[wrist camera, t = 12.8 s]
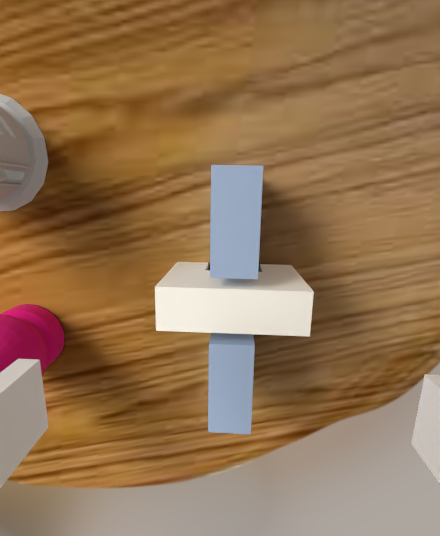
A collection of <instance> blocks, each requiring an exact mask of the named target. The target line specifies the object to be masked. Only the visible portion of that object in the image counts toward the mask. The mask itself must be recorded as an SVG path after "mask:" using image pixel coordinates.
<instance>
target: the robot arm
mask: <svg viewBox="0 0 440 536" xmlns="http://www.w3.org/2000/svg"><path fill="white" fill-rule="evenodd" d="M47 428H48V419H47V411H46V404H45V396H44V389H43V381H42V373H41V366H40V360H38V359H17V360H16V361H15V362H13V363H12V364H11V365H10V366H8V367H7V368H6V369H4V370H3V371H2V372H0V488H1V487H2V485H3V484H4V483H5V482H6V480H7V479H8V478H9V476H10V475H11V474H12V473H13V471H14V470H15V469H16V468H17V466H18V465H19V464H20V463H21V461H22V460H23V459H24V457H25V456H26V455H27V454H28V452H29V451H30V450H31V449H32V447H33V446H34V445H35V443H36V442H37V441H38V440H39V438H40V437H41V436H42V435H43V433H44V432H45V431H46V430H47ZM411 444H412V445H413V447H414V448H415V450H416V451H417V452H418V454H419V455H420V457H421V458H422V460H423V461H424V462H425V464H426V465H427V466H428V468H429V469H430V471H431V472H432V474H433V475H434V476H435V478H436V479H437V480H438V482H439V483H440V375H428V374H425V376H424V381H423V386H422V391H421V396H420V402H419V407H418V412H417V417H416V422H415V427H414V432H413V437H412V443H411Z"/></svg>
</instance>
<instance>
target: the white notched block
mask: <svg viewBox="0 0 440 536" xmlns="http://www.w3.org/2000/svg"><path fill="white" fill-rule="evenodd" d="M208 264H209V263H206V262H177V263H176V264H175V265H174V266H173V267H172V268H171V270H170V271H169V272H168V273H167V274H166V275H165V276H164V277H163V278H162V279H161V281H160V282H159V283H158V284H157V285H156V286H155V308H156V331H180V332H206V333H232V334H258V335H285V336H310V329H311V318H312V307H313V295H314V291H313V290H312V289H311V288H310V287H309V285H308V284H307V283H306V282H305V281H304V280H303V278H302V277H301V276H300V275H299V274H298V272H297V271H296V270H295V269H294V268H293V266H292V265H276V264H260V267H259V272H258V279H232V278H210V270H208Z"/></svg>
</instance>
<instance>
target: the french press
mask: <svg viewBox="0 0 440 536" xmlns="http://www.w3.org/2000/svg"><path fill="white" fill-rule="evenodd" d="M47 167H48V156H47V150H46V144H45V138H44V136H43V134H42V132H41V131H40V129H39V127H38V125H37V123H36V122H35V120H34V118H33V116H32V115H31V114H30V113H29V112H28V111H27V110H25V109H24V108H23V107H22V106H21V105H20V104H19V103H17V102H16V101H15V100H14V99H13V98H10V97H8V96H5V95H2V94H0V211H14V210H16V209H18V208H20V207H22V206H23V205H25V204H27V203H29V202H31V201H32V200H33V198H34V197H35V196H36V194H37V193H38V191H39V190H40V189H41V187H42V186H43V185H44V181H45V176H46V171H47Z"/></svg>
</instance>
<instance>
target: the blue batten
mask: <svg viewBox="0 0 440 536" xmlns="http://www.w3.org/2000/svg"><path fill="white" fill-rule="evenodd" d="M262 184H263V166H247V165H211V231H210V278H232V279H258V268H259V247H260V226H261V205H262ZM254 353H255V343H254V336H253V334H232V333H211V336H210V342H209V395H208V432H216V433H236V434H251V416H252V395H253V374H254Z"/></svg>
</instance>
